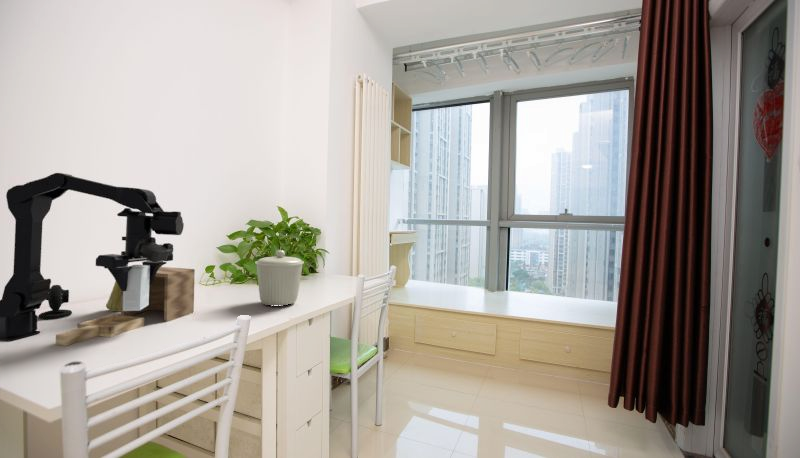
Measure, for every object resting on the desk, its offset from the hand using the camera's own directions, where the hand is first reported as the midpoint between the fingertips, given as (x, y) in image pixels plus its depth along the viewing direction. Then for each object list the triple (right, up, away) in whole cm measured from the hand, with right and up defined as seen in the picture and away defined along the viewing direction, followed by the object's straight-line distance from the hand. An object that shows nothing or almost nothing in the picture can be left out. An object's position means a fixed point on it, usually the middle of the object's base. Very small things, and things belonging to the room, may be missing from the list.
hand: (136, 288), depth 97 cm
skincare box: (0, -6, 0) cm, 6 cm away
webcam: (-34, -11, +11) cm, 38 cm away
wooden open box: (-6, -12, +17) cm, 22 cm away
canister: (+27, -13, +37) cm, 48 cm away
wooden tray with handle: (-9, -12, -2) cm, 15 cm away
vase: (-22, -10, +20) cm, 32 cm away
